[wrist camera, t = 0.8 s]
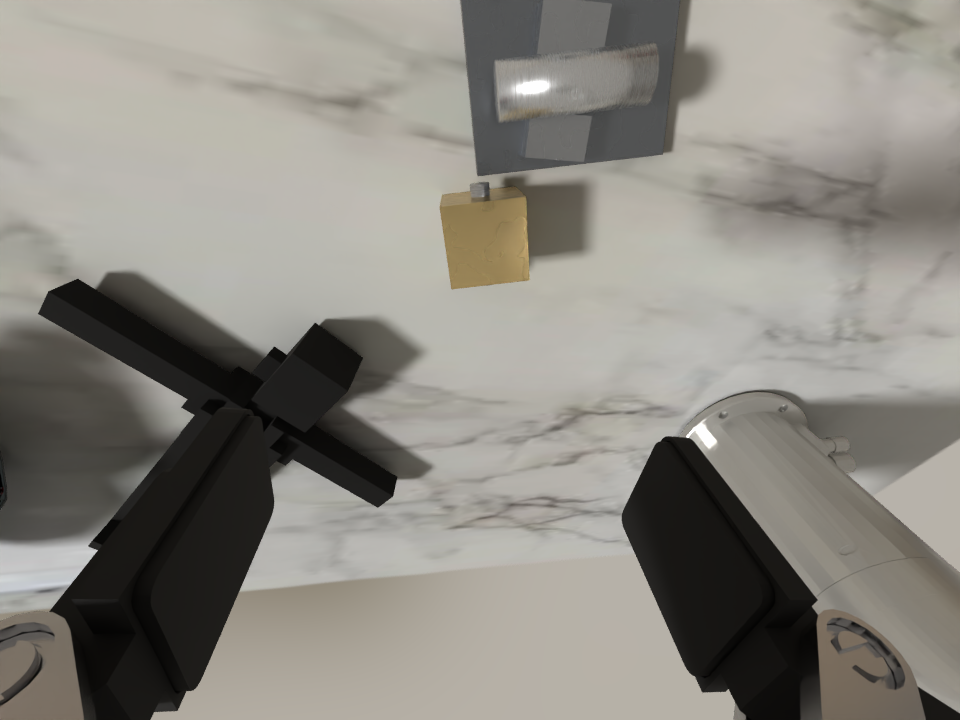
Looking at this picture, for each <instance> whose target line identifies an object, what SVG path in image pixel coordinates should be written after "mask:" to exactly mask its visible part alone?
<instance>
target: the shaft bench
mask: <svg viewBox="0 0 960 720" xmlns="http://www.w3.org/2000/svg"><path fill="white" fill-rule="evenodd" d="M460 2H461V13H462V23H463V33H464V44H465V54H466V65H467V75H468V85H469V96H470V106H471V117H472V127H473V137H474V148H475V158H476V169H477V175H478V176H483V175H492V174H500V173H509V172H517V171H526V170H534V169H543V168H552V167H560V166H569V165H577V164H586V163H594V162H603V161H611V160H620V159H628V158H637V157H646V156H654V155H663V148H664V139H665V130H666V121H667V112H668V103H669V94H670V85H671V76H672V67H673V58H674V49H675V40H676V31H677V22H678V13H679V4H680V0H460Z"/></svg>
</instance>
